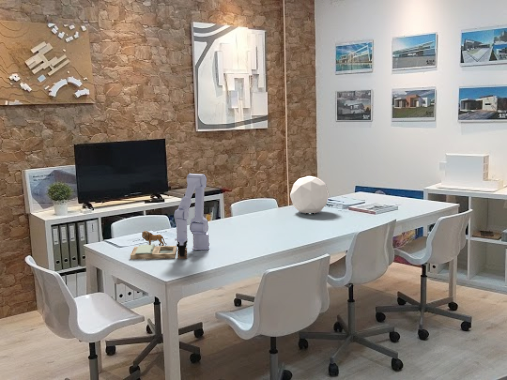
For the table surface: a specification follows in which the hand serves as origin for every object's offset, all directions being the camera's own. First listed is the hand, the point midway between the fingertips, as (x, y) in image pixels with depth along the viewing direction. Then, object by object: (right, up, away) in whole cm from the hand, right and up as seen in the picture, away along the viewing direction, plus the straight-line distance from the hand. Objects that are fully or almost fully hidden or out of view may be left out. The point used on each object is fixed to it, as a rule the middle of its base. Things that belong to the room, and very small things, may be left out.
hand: (182, 255), depth 308 cm
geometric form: (+81, +18, +120) cm, 146 cm away
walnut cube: (0, -1, 0) cm, 1 cm away
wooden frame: (-17, -1, +6) cm, 18 cm away
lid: (-21, +2, +6) cm, 22 cm away
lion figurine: (-20, +2, +26) cm, 33 cm away
